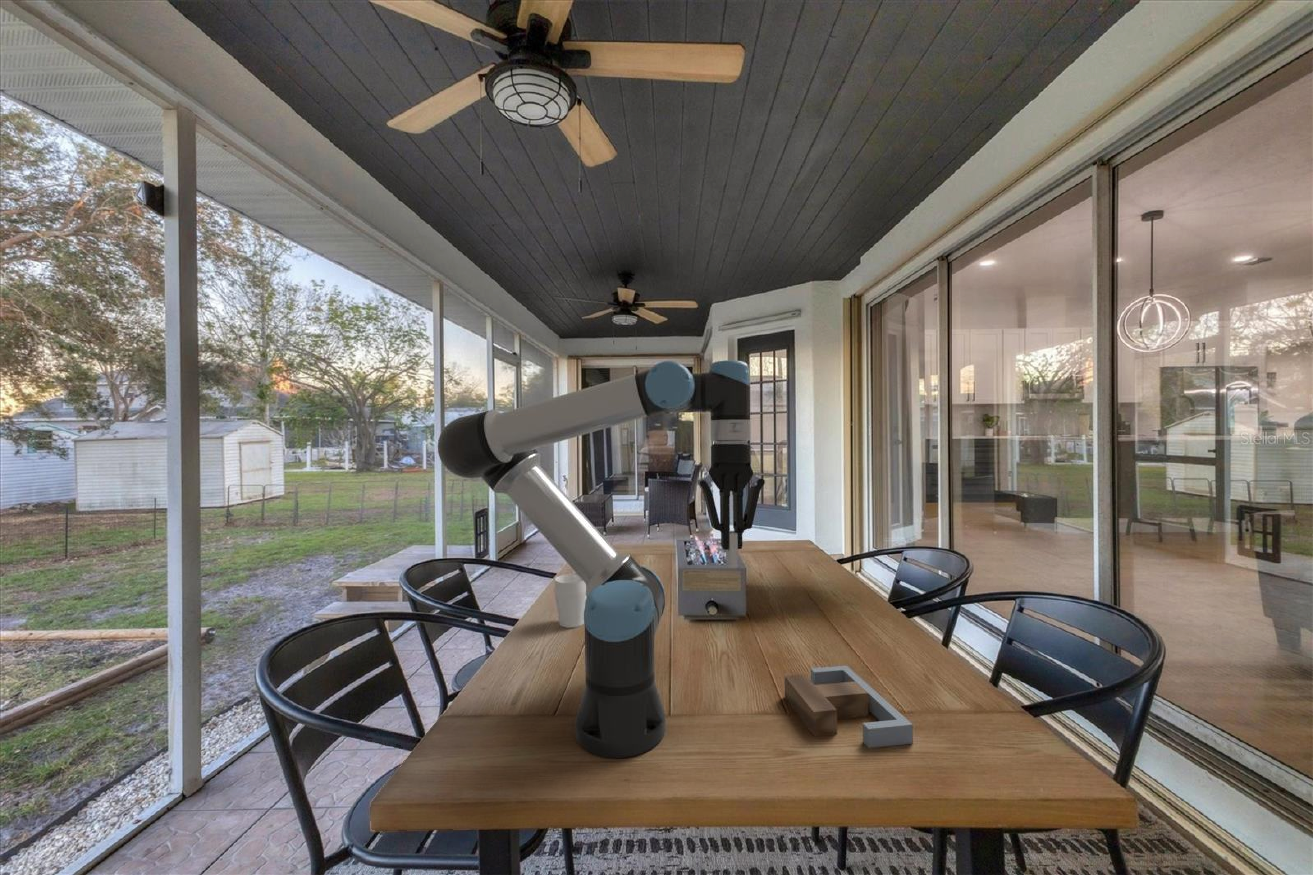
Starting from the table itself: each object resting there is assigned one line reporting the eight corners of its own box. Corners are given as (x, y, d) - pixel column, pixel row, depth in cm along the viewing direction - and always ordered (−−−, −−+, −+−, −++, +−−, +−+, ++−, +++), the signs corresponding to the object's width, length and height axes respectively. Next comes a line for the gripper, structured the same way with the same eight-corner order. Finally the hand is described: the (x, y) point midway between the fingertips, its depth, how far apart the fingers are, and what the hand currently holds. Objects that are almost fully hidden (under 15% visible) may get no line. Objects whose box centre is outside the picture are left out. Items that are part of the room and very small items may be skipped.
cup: (553, 619, 131) (552, 575, 131) (586, 615, 134) (585, 572, 134) (556, 632, 122) (556, 584, 122) (592, 627, 125) (591, 581, 125)
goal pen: (868, 748, 76) (868, 729, 76) (810, 683, 96) (810, 668, 96) (913, 743, 77) (912, 724, 77) (846, 680, 97) (846, 665, 97)
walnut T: (814, 736, 79) (813, 711, 79) (784, 697, 91) (784, 676, 91) (882, 729, 81) (881, 705, 81) (844, 691, 92) (844, 671, 92)
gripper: (701, 443, 88) (703, 573, 88) (770, 442, 89) (771, 569, 89) (693, 443, 95) (694, 562, 95) (756, 442, 97) (758, 559, 97)
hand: (732, 566), depth 92 cm, fingers closed
